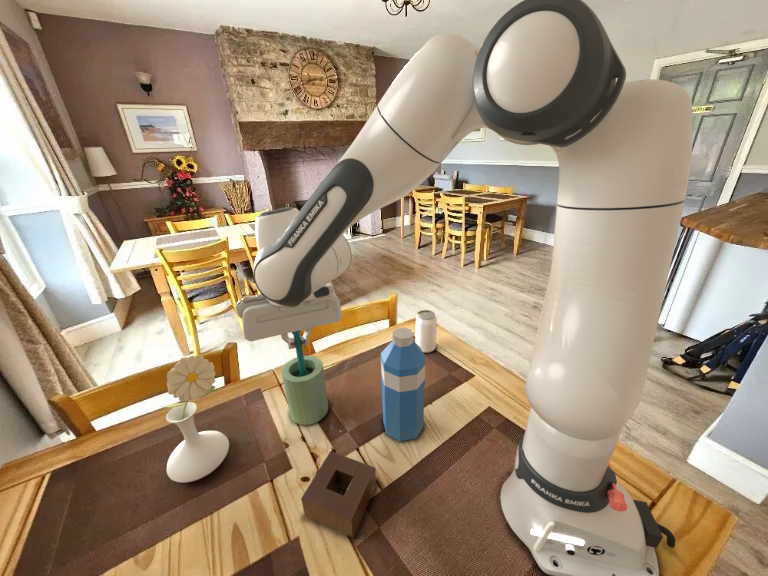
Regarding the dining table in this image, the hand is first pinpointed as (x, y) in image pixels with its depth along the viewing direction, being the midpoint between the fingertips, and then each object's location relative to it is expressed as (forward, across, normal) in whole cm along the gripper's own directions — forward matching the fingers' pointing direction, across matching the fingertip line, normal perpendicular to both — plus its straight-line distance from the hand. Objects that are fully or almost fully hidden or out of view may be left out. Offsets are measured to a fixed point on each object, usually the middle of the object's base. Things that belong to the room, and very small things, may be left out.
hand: (298, 345), depth 69 cm
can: (+19, +39, +10) cm, 45 cm away
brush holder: (+19, +2, -24) cm, 31 cm away
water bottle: (+19, +19, -14) cm, 30 cm away
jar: (+19, 0, 0) cm, 19 cm away
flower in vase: (+19, -23, -4) cm, 30 cm away
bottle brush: (+14, 0, 0) cm, 14 cm away
